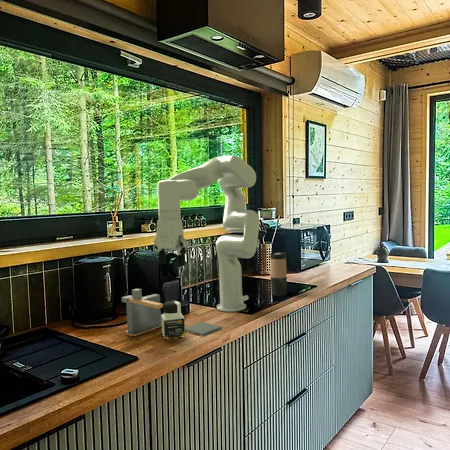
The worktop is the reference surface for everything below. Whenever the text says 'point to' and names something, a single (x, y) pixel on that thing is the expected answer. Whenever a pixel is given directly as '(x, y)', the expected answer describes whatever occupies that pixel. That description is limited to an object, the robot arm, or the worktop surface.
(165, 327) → the medicine bottle
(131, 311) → the rail
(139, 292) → the bar
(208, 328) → the slate coaster
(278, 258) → the travel mug
